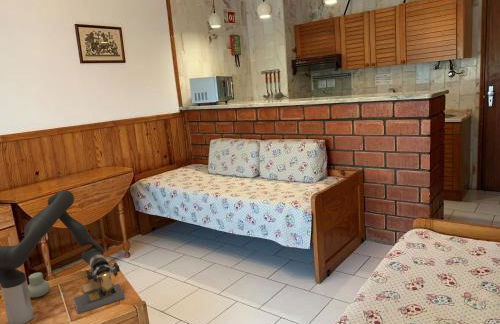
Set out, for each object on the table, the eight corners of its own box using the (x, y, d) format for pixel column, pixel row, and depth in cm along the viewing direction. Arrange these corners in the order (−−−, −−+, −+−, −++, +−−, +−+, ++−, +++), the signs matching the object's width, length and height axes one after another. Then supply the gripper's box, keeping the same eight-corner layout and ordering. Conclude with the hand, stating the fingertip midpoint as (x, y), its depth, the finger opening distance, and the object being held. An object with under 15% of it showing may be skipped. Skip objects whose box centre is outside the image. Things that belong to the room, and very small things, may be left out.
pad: (84, 296, 184) (84, 292, 184) (82, 289, 191) (81, 285, 190) (102, 290, 188) (102, 286, 188) (99, 284, 195) (98, 280, 194)
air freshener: (52, 294, 188) (48, 275, 186) (33, 301, 183) (29, 282, 181) (44, 287, 196) (41, 268, 194) (26, 294, 190) (22, 275, 188)
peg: (104, 301, 178) (100, 277, 176) (102, 297, 182) (99, 273, 179) (114, 298, 180) (111, 274, 178) (112, 294, 184) (108, 270, 181)
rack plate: (78, 313, 170) (76, 307, 169) (74, 303, 178) (73, 297, 177) (124, 298, 180) (124, 291, 179) (119, 289, 188) (118, 283, 187)
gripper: (82, 261, 186) (88, 274, 173) (113, 253, 194) (121, 264, 180) (84, 276, 188) (90, 290, 174) (115, 267, 195) (123, 280, 181)
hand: (106, 277), depth 177 cm, fingers open, 8 cm apart
